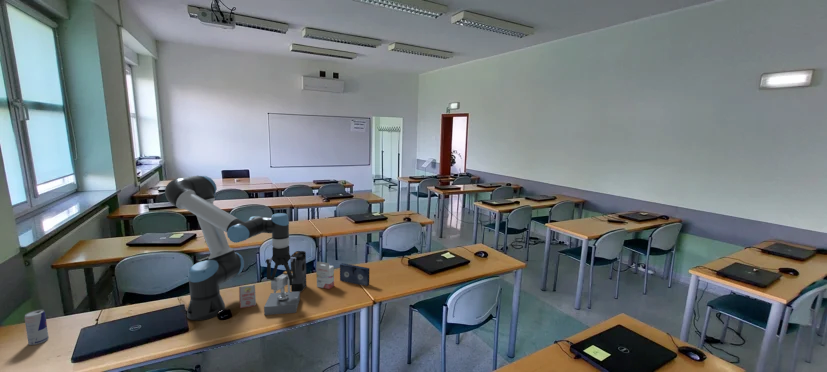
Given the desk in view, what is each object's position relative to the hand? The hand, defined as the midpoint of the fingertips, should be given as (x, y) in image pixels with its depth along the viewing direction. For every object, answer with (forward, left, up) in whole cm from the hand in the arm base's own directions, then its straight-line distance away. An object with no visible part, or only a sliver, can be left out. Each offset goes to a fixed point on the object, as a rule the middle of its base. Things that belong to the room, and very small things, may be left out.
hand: (282, 291), depth 161 cm
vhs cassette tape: (+35, +23, -8) cm, 43 cm away
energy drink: (-89, -14, -8) cm, 90 cm away
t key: (0, 0, -4) cm, 4 cm away
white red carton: (-17, +4, -8) cm, 19 cm away
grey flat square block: (0, 0, -8) cm, 8 cm away
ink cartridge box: (+19, +20, -8) cm, 29 cm away
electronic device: (+5, +19, -8) cm, 21 cm away
